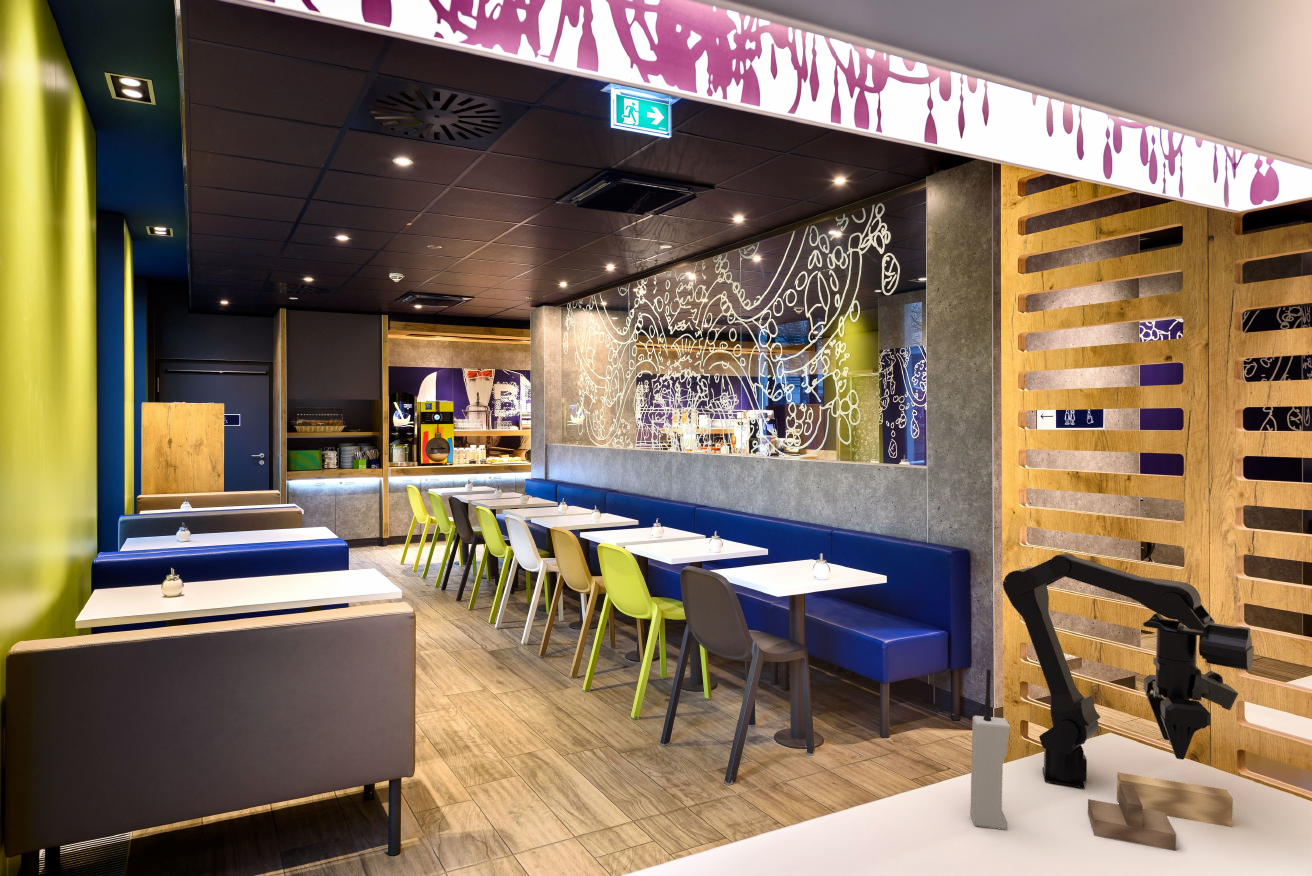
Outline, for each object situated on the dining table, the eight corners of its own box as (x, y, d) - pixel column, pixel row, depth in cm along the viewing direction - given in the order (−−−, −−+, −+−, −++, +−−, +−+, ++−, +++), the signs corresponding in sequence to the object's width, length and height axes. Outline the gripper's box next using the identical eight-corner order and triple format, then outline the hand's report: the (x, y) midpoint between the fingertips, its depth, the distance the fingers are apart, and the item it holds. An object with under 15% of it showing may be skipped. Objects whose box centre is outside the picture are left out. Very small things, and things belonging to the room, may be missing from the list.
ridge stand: (1094, 835, 125) (1095, 797, 125) (1087, 814, 133) (1088, 778, 133) (1175, 850, 121) (1176, 811, 121) (1164, 827, 128) (1165, 790, 128)
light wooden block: (1120, 809, 135) (1120, 780, 135) (1116, 800, 139) (1117, 772, 139) (1232, 828, 129) (1232, 798, 129) (1225, 819, 133) (1226, 789, 133)
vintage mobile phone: (1007, 830, 126) (1011, 673, 126) (974, 826, 127) (978, 671, 127) (1002, 819, 130) (1006, 667, 130) (970, 816, 131) (973, 665, 131)
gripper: (1251, 678, 122) (1248, 779, 122) (1217, 650, 140) (1214, 738, 140) (1167, 668, 127) (1164, 766, 127) (1144, 642, 144) (1141, 728, 144)
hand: (1173, 749), depth 134 cm, fingers open, 9 cm apart
